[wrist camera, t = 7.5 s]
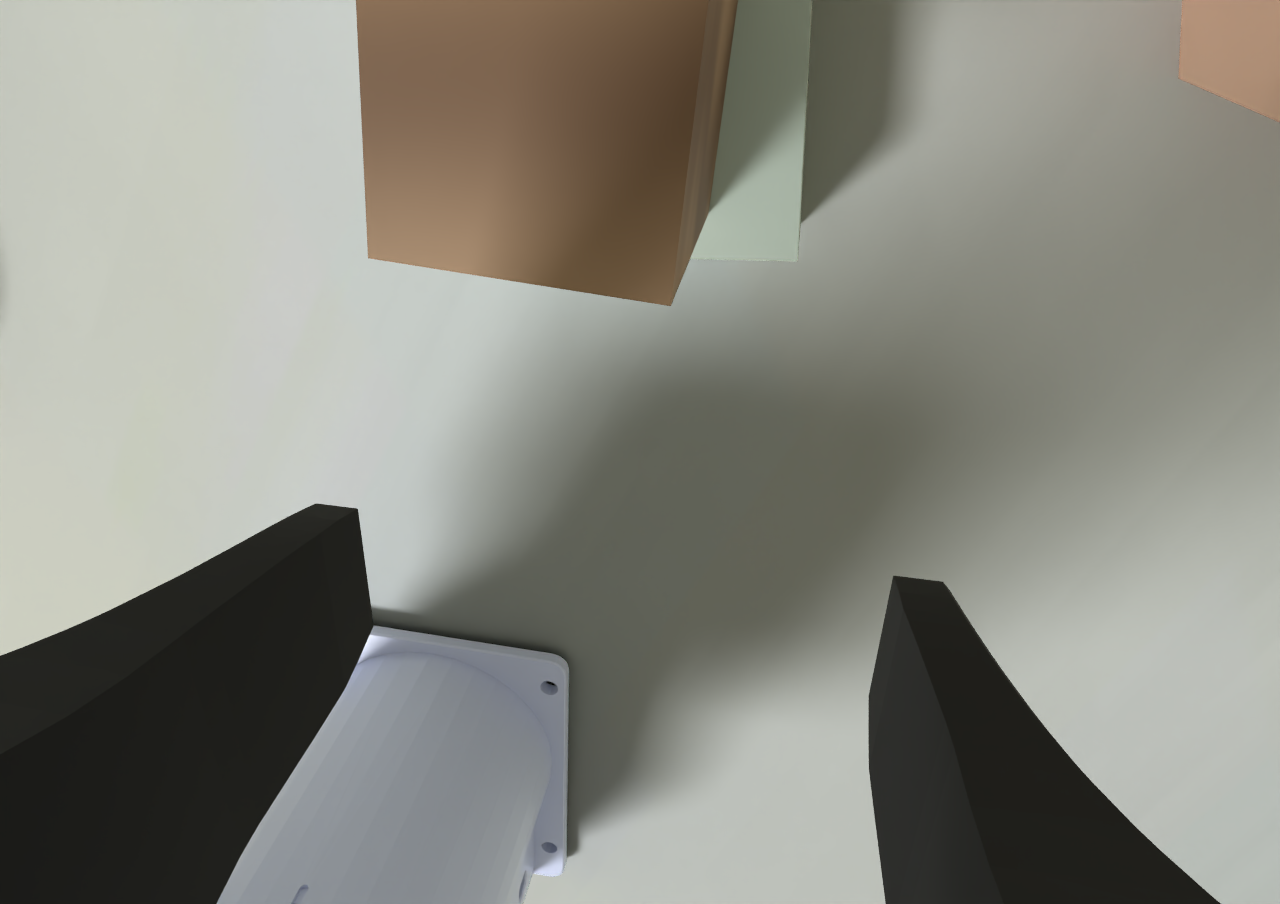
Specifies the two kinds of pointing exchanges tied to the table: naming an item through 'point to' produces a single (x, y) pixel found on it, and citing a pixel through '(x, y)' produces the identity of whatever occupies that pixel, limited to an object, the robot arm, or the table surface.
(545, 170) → the walnut block
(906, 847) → the robot arm
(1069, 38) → the table surface
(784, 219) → the base block
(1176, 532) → the table surface
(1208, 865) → the table surface
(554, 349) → the table surface
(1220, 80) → the terracotta block
